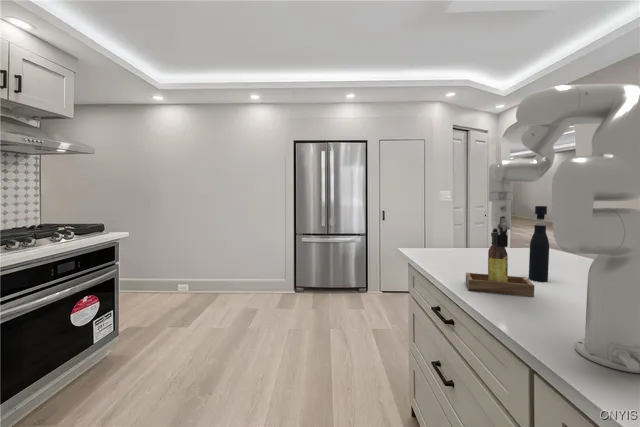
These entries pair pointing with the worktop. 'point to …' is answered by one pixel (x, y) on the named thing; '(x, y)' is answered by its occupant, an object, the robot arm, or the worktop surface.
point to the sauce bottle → (497, 261)
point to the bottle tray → (500, 285)
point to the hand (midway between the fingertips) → (499, 244)
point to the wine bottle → (539, 248)
